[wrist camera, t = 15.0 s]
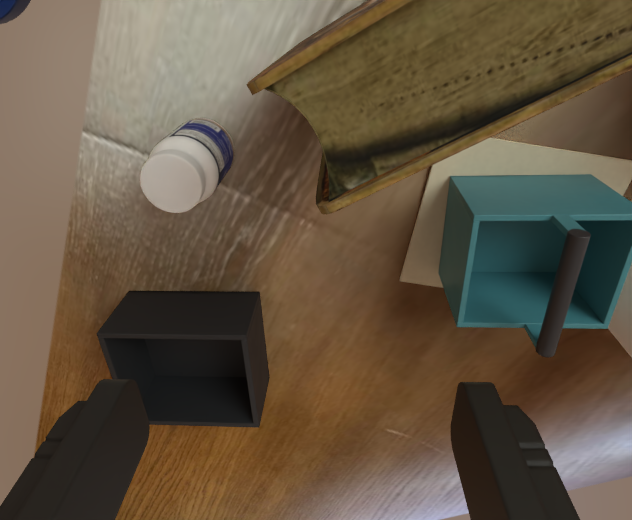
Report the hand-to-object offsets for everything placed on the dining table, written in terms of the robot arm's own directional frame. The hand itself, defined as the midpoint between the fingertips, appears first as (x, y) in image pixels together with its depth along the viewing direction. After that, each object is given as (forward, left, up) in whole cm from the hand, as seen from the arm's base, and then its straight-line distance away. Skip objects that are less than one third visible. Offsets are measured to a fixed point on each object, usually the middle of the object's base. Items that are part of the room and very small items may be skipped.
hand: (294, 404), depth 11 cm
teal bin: (+19, -8, -33) cm, 38 cm away
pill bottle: (-11, -5, -33) cm, 35 cm away
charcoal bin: (-11, -28, -33) cm, 44 cm away
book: (+5, +8, -33) cm, 34 cm away
